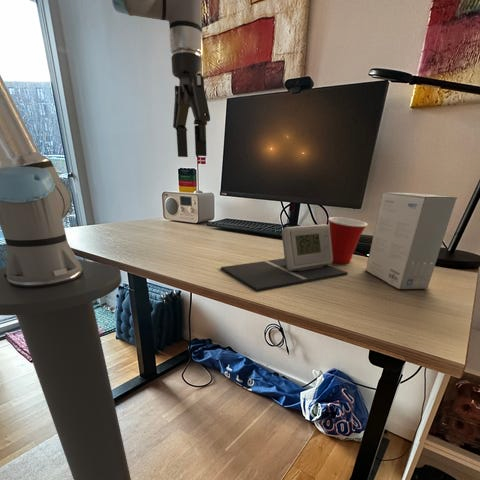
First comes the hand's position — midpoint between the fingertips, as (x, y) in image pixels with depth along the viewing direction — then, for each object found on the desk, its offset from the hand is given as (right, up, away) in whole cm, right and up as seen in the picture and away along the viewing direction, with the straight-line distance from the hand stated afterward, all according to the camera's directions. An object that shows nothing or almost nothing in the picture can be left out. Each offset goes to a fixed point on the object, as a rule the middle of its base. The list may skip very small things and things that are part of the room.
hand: (191, 156), depth 82 cm
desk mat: (+25, -32, -3) cm, 40 cm away
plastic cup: (+43, -27, +8) cm, 52 cm away
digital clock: (+31, -30, 0) cm, 43 cm away
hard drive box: (+52, -34, -6) cm, 63 cm away
